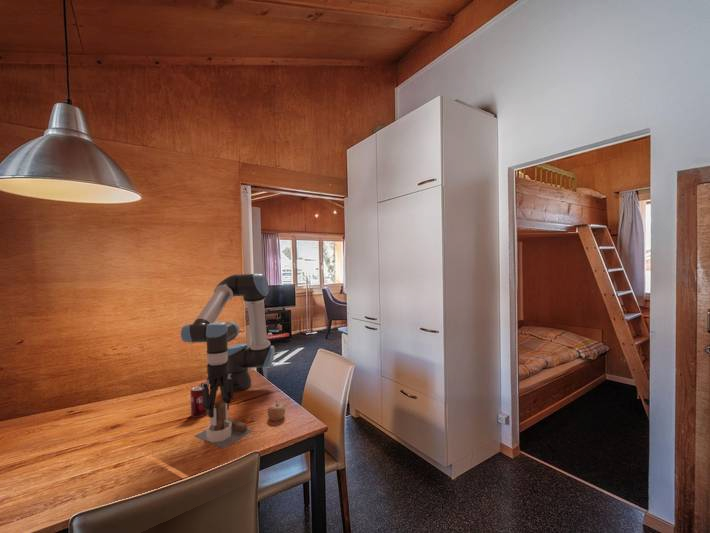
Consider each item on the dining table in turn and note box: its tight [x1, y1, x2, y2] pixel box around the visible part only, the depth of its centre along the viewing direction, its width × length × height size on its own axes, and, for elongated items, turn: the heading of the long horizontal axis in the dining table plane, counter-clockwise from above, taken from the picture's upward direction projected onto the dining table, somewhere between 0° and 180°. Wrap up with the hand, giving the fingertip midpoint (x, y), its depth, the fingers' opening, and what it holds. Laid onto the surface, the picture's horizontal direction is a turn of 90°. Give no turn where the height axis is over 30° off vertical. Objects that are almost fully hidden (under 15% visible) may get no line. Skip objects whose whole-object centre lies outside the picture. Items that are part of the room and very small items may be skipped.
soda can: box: [189, 384, 208, 418], centre depth 146 cm, size 7×7×12 cm
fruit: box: [267, 400, 286, 422], centre depth 138 cm, size 8×7×8 cm
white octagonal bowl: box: [205, 420, 232, 442], centre depth 124 cm, size 9×9×4 cm
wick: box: [227, 416, 248, 433], centre depth 130 cm, size 12×2×2 cm, turn 59°
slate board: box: [194, 428, 254, 449], centre depth 126 cm, size 14×18×1 cm
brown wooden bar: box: [214, 400, 224, 431], centre depth 124 cm, size 2×2×12 cm
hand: (219, 421), depth 124 cm, fingers open, 4 cm apart
